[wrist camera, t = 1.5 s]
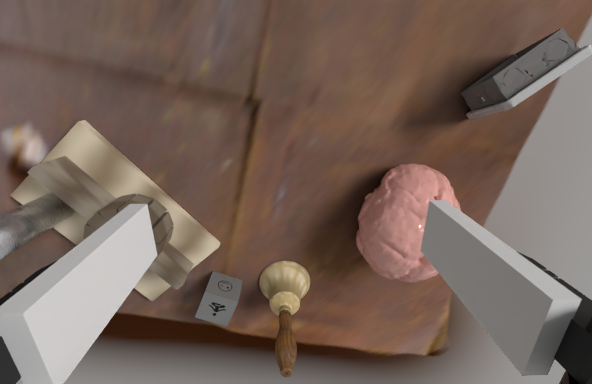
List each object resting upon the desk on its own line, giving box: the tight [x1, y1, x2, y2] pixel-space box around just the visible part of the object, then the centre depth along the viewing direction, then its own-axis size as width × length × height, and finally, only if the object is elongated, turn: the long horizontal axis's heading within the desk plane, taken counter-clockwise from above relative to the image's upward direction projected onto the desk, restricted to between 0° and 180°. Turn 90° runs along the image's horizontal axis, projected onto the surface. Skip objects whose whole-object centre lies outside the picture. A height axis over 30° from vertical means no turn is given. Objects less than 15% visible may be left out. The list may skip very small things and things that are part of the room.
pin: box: [0, 192, 74, 260], centre depth 32 cm, size 5×5×15 cm
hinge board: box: [10, 120, 220, 301], centre depth 38 cm, size 24×15×6 cm, turn 40°
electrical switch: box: [461, 28, 592, 120], centre depth 33 cm, size 9×5×9 cm, turn 127°
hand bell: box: [259, 261, 310, 377], centre depth 39 cm, size 8×8×16 cm
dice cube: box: [195, 271, 243, 327], centre depth 44 cm, size 5×5×5 cm
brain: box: [356, 163, 461, 283], centre depth 38 cm, size 16×13×12 cm
